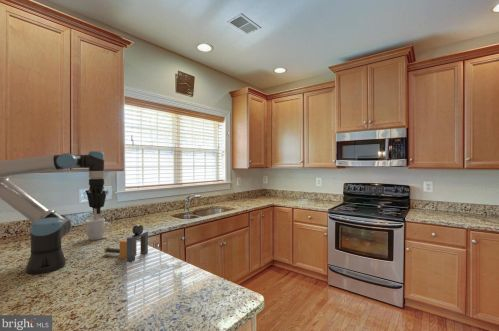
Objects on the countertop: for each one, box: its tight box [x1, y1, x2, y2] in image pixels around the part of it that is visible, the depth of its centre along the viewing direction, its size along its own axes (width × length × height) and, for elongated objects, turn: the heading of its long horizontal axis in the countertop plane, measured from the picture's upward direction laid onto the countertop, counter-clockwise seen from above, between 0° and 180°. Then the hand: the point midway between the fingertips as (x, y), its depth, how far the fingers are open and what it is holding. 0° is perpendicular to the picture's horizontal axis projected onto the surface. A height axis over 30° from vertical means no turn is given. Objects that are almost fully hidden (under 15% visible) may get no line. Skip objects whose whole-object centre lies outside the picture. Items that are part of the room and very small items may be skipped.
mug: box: [85, 217, 112, 241], centre depth 169 cm, size 15×11×13 cm
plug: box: [103, 237, 137, 259], centre depth 138 cm, size 17×6×9 cm, turn 79°
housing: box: [126, 224, 149, 263], centre depth 135 cm, size 14×3×18 cm, turn 169°
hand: (96, 219), depth 140 cm, fingers closed
